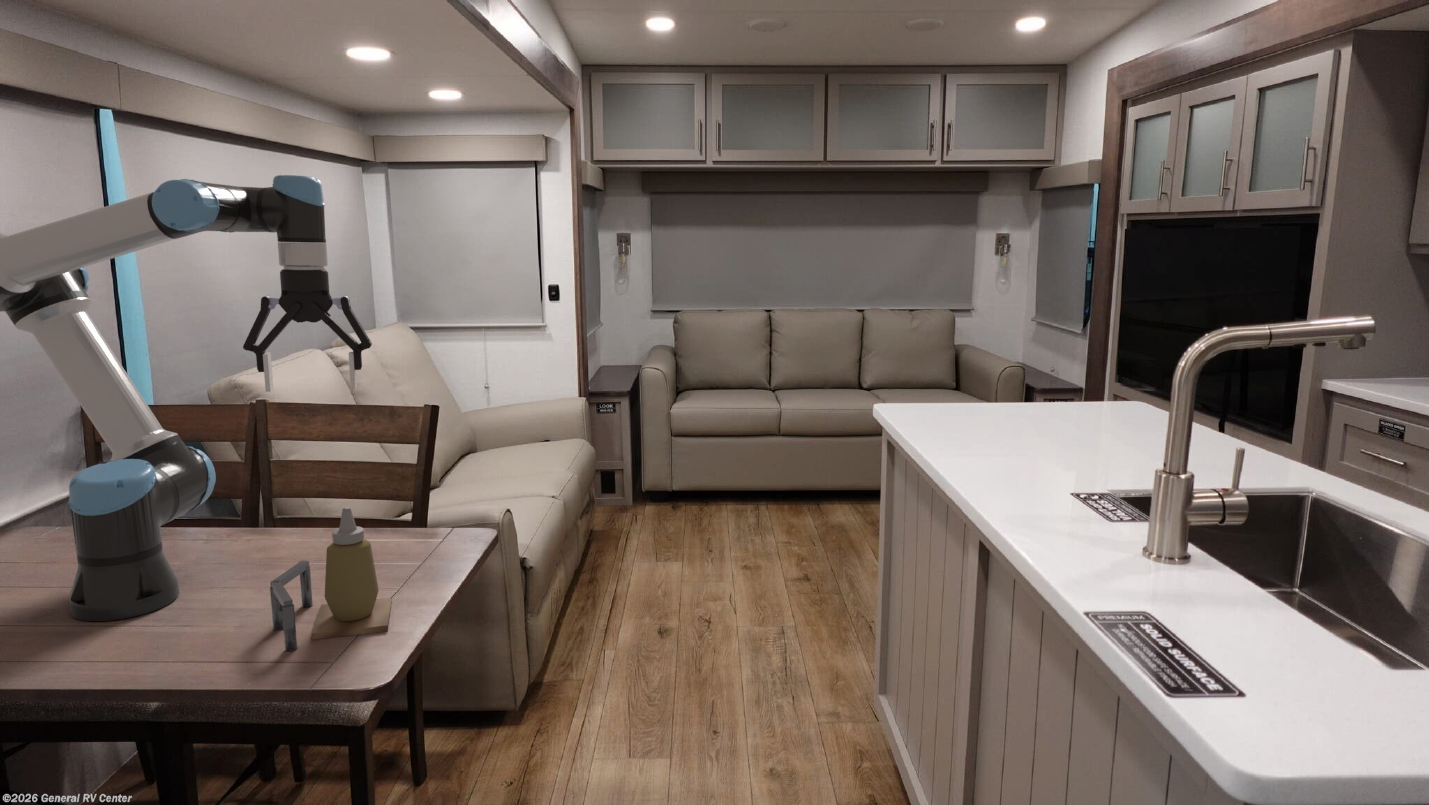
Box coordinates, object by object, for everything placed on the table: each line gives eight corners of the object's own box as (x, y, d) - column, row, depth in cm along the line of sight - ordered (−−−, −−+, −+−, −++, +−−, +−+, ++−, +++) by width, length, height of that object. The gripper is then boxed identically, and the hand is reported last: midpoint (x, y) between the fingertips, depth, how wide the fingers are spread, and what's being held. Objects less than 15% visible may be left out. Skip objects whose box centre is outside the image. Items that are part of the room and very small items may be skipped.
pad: (311, 639, 130) (311, 633, 129) (321, 610, 140) (321, 604, 140) (387, 631, 133) (387, 625, 133) (391, 603, 143) (391, 597, 143)
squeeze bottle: (390, 610, 138) (385, 505, 135) (351, 629, 131) (344, 519, 128) (355, 600, 142) (348, 498, 138) (314, 619, 134) (306, 511, 131)
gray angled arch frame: (262, 654, 125) (258, 605, 123) (283, 606, 141) (279, 561, 140) (296, 650, 126) (292, 601, 125) (313, 603, 142) (310, 559, 141)
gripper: (382, 268, 152) (388, 383, 156) (227, 266, 144) (238, 387, 148) (379, 269, 145) (386, 390, 149) (216, 267, 137) (227, 395, 141)
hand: (312, 389), depth 148 cm, fingers open, 13 cm apart
